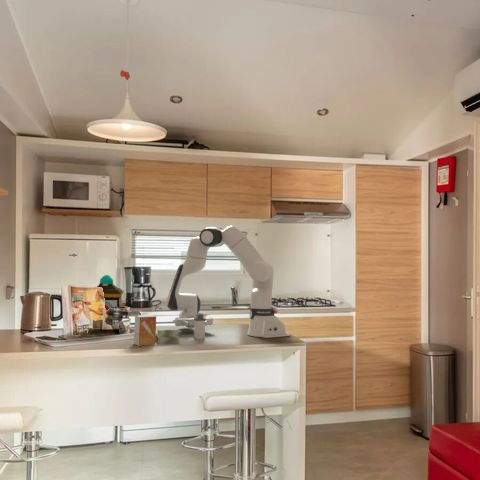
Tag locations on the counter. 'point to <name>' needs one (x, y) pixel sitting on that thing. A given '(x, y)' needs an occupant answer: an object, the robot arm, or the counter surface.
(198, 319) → the connector
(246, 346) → the counter surface
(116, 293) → the decorative lantern
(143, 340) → the small box
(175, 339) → the socket
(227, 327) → the counter surface
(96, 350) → the counter surface
